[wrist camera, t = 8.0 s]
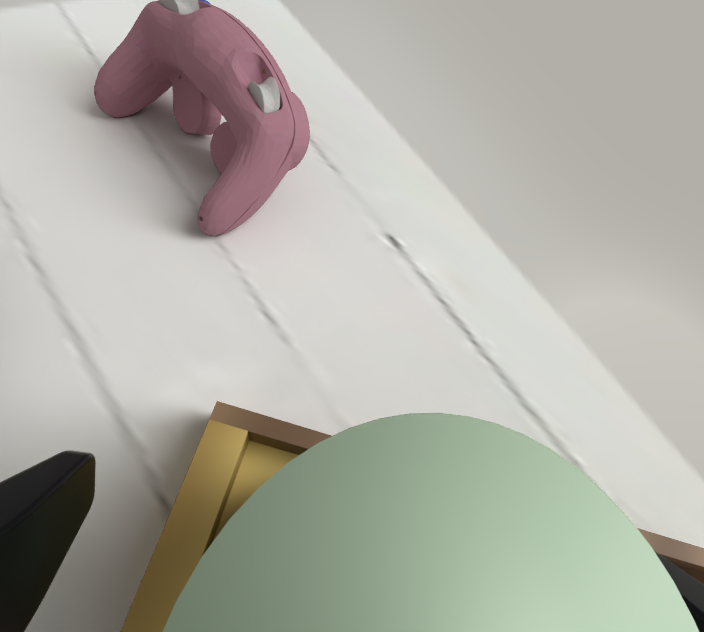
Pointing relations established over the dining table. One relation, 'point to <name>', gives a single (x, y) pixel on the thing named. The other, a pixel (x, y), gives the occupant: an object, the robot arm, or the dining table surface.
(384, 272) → the dining table surface
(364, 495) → the peg
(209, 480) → the wooden compartment tray
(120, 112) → the video game controller
